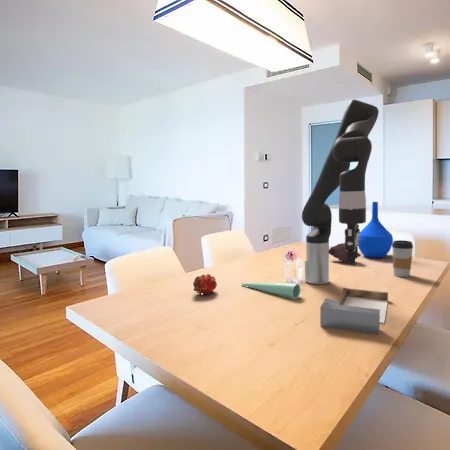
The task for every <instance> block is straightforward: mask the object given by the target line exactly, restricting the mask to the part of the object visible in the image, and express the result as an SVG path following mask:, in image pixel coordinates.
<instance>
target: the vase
mask: <svg viewBox="0 0 450 450" xmlns="http://www.w3.org/2000/svg"><path fill="white" fill-rule="evenodd" d="M371 205H372V207H371V219H370V221H369V222H368V223H367V225H366V226H364V228H363V229H361V230H360V235H359V245H358V250H359V251H360V252H361V253H360V254H362V256H365V257H366V258H370V257H371V259H379V258H380V259H381V257H382V258H384V257H386V256H387V255H388V254H389V252H390V251H391V249H392V244H393V241H394V238H393V235H392V233H391V232H390V231H389V230H387V228H385V226H384V225H383V224H382V223H381V221H380V219H379V201H372V204H371Z"/></svg>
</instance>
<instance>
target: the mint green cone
mask: <svg viewBox="0 0 450 450" xmlns="http://www.w3.org/2000/svg"><path fill="white" fill-rule="evenodd" d="M241 284H242V285H244V286H248V287H251V288H250V289H252V288H254V289H253V290H256V289H258V290H257V291H260V290H262V291H261V292H264V291H265V292H264V293H268V292H269V293H268V294H272V295H275V294H276V295H275V296H281V297H284V298H288V299H292V300H296V299H298V298H299V297H300V295H301V285H300V284H298V283H289V282H288V283H287V282H286V283H285V282H284V283H282V282H281V283H280V282H278V283H277V282H274V283H273V282H243V283H241ZM242 285H241V286H242ZM244 286H243V287H244ZM248 287H247V288H248Z"/></svg>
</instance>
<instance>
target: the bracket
mask: <svg viewBox="0 0 450 450" xmlns="http://www.w3.org/2000/svg"><path fill="white" fill-rule="evenodd" d="M319 310H320V312H319V313H320V314H319V315H320V317H319V319H320V322H319V323H320V327H322V328H328V329H335V330H342V331H349V332H353V333H354V332H357V333H361V334H369V335H374V336H379V335H380V328H381V327H380V326H381V325H380V324H381V323H380V310H379V309H371V308H363V307H354V306H346V305H339V300H337V299H329V298H325V299H324V301H323V303H322V304H321V305H320V309H319Z"/></svg>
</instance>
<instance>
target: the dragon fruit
mask: <svg viewBox="0 0 450 450" xmlns="http://www.w3.org/2000/svg"><path fill="white" fill-rule="evenodd" d="M216 280H217V279H216V277H215V276H212V275H211V274H210V273H208V274H202V275H200V276H196V277H195V278H194V281H193V283H192V285H193V287H194V288H193V291H194V292H196V294H199V293H204V294H206V293H207V294H206V295H209V294H210V295H211V294H212V293H211V292H213V290H214V291H215V290H216V288H217V286H218V284H217V281H216ZM208 293H209V294H208ZM213 293H214V292H213Z"/></svg>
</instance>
